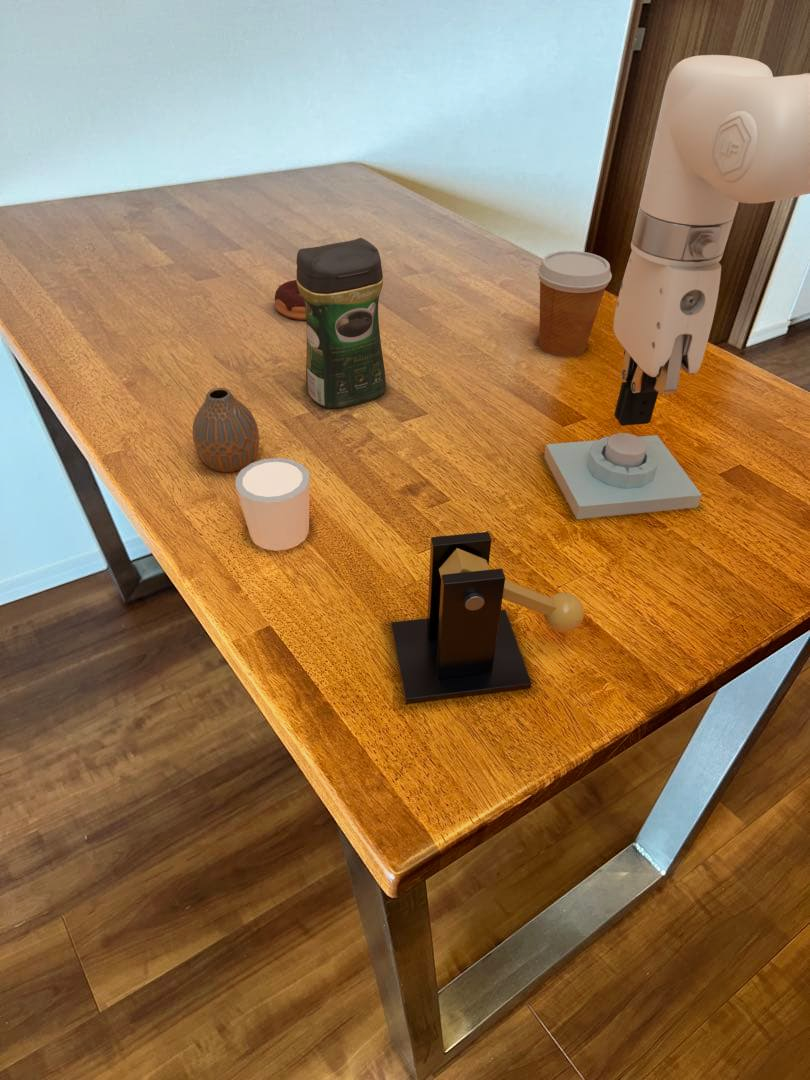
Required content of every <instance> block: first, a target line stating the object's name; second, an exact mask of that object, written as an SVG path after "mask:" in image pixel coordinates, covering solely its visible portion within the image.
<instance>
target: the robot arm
mask: <svg viewBox="0 0 810 1080" xmlns="http://www.w3.org/2000/svg"><path fill="white" fill-rule="evenodd" d="M650 152H651V153H650V155H649V161H648V164H647V170H646V174H645V179H644V183H643V187H642V193H641V197H640V201H639V205H638V211H637V216H636V219H635V225H634V229H633V233H632V238H631V242H630V249H631V252H630V255H629V258H628V261H627V264H626V268H625V271H624V275H623V278H622V282H621V285H620V289H619V293H618V297H617V301H616V306H615V310H614V317H613V323H612V329H613V334H614V336H615V338H616V339H617V341H618V342H619V343H620V345H621V347H622V349H623V361H622V368H621V379H622V382H621V385H620V388H619V392H618V393H619V394H618V397H617V402H616V405H615V408H614V409H615V410H614V413H613V414H614V418H615V419H616V420H617V421H618V423H619V425H620V426H622V427H624V426H635V425H646V424H649V423H650V422H651V420H652V416H653V413H654V410H655V406H656V402H657V399H658V396H659V393H660V394H662V395H664V394H665V395H667V394H676V393H677V391H678V389H679V388H678V387H679V382H680V374H681V369H682V370H683V371H684V372H686V373H687V374H689V375H696V374H697V373H698V372H699V371H700V368H701V366H702V363H703V360H704V356H705V352H706V349H707V346H708V341H709V338H710V334H711V331H712V326H713V322H714V316H715V313H716V309H717V304H718V299H719V291H720V285H721V284H720V283H721V275H722V274H721V273H722V264H721V263H720V261H721V260H722V258H723V256H724V252H725V249H726V245H727V242H728V239H729V235H730V233H731V229H732V226H733V223H734V220H735V216H736V213H737V210H738V207H739V203H741V204H764V203H770V202H777V201H782V200H788V199H793V198H798V197H800V196H803V195H809V194H810V72H804V73H800V74H791V75H781V76H780V75H779V76H774V75H773V72H772V70H771V68H770V67H769V66H768V65H767V64H765V63H763V62H761V61H759V60H757V59H752V58H747V57H744V56H738V55H737V56H736V55H727V54H726V55H725V54H702V55H694V56H689V57H687V58H683V59H682V60H680V61H679V62H677V63H676V64H675V65H674V66H673V68H672V70H671V71H670V73H669V75H668V78H667V80H666V84H665V87H664V91H663V96H662V102H661V105H660V111H659V114H658V119H657V124H656V128H655V134H654V137H653V143H652V146H651V151H650Z"/></svg>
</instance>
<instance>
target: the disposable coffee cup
mask: <svg viewBox="0 0 810 1080" xmlns="http://www.w3.org/2000/svg"><path fill="white" fill-rule="evenodd" d="M537 275H538V280H539V332H538V333H539V336H538V338H539V339H538V343H539V344H538V345H539V347H540V349H541V350H542V351H544V352H545V353H547V354H549V355H552V356H557V357H576V356H579V355H581V354H583V353H584V352H585V350H586V348H587V345H588V342H589V339H590V336H591V333H592V330H593V328H594V324H595V320H596V318H597V315H598V311H599V309H600V305H601V302H602V300H603V296H604V294H605V290H606V288H607V286H608V285H609V283H610V282H611V280H612V277H613V274H612V272H611V265H610V263H609V261H608V260H607V259H605V258H604V257H602V256H600V255H597V254H595V253H591V252H587V251H580V250H559V251H554V252H551V253H548V254H547V255H545V256H544V257H543V258H542V261H541V263H540V265H539V266H538V267H537Z"/></svg>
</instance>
